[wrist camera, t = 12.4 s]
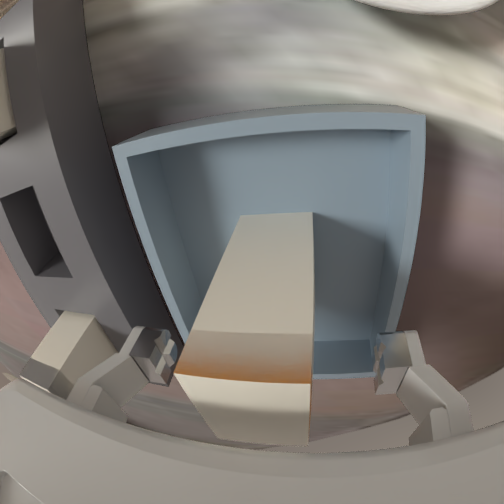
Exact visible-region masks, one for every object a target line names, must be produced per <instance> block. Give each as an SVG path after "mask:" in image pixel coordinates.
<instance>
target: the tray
mask: <svg viewBox="0 0 504 504" xmlns="http://www.w3.org/2000/svg"><path fill="white" fill-rule="evenodd" d="M425 143H426V115H424V114H421V113H418V112H415V111H412V110H410V109H407V108H404V107H401V106H397V105H380V104H325V105H304V106H290V107H278V108H268V109H259V110H250V111H243V112H236V113H229V114H222V115H216V116H210V117H205V118H199V119H194V120H189V121H184V122H180V123H175V124H170V125H166V126H162V127H158V128H154V129H150V130H148V131H145V132H143V133H141V134H138V135H136V136H134V137H132V138H129V139H127V140H125V141H123V142H121V143H119V144H116V145H114V146H112V150H113V153H114V157H115V160H116V164H117V167H118V171H119V174H120V178H121V181H122V184H123V188H124V191H125V194H126V197H127V200H128V203H129V206H130V209H131V212H132V215H133V218H134V221H135V224H136V227H137V230H138V233H139V235H140V238H141V241H142V244H143V246H144V249H145V252H146V254H147V257H148V259H149V262H150V265H151V267H152V270H153V272H154V275H155V277H156V280H157V282H158V285H159V287H160V289H161V292H162V294H163V297H164V299H165V301H166V304H167V306H168V308H169V310H170V313H171V315H172V317H173V319H174V322H175V324H176V326H177V328H178V330H179V332H180V335H181V337H182V339H183V341H184V343H186V341H187V338H188V336H189V334H190V331H191V329H192V326H193V324H194V322H195V319H196V317H197V315H198V312H199V310H200V307H201V305H202V303H203V300H204V298H205V296H206V293H207V291H208V289H209V286H210V284H211V282H212V279H213V277H214V275H215V272H216V270H217V268H218V266H219V263H220V261H221V259H222V256H223V254H224V252H225V250H226V247H227V245H228V243H229V240H230V238H231V236H232V234H233V231H234V229H235V227H236V225H237V223H238V220H239V218H240V216H241V215H257V214H276V213H297V212H312V214H313V235H314V264H315V334H314V364H313V379H344V378H365V377H375V375H376V373H375V372H374V371H373V368H372V354H373V348H374V346H376V336H377V334H378V333H383V332H395V331H396V328H397V325H398V321H399V317H400V314H401V310H402V306H403V302H404V298H405V294H406V290H407V285H408V281H409V276H410V272H411V267H412V262H413V256H414V251H415V245H416V239H417V233H418V226H419V219H420V211H421V202H422V192H423V181H424V167H425Z"/></svg>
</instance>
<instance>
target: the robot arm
mask: <svg viewBox="0 0 504 504" xmlns="http://www.w3.org/2000/svg"><path fill="white" fill-rule="evenodd" d="M170 337H171V334H170V332H169V330H166V329H158V328H151V327H143V326H135V327H134V328H133V329H132V331H131V333H130V335H129V336H128V338H127V340H126V342H125V343H124V345H123V347H122V349H121V350H120V352H119V353H115V354H114V355H113V356H111V357H110V358H108V359H107V360H105V361H104V362H102V363H101V364H99V365H98V366H96V367H95V368H93V369H92V370H90V371H89V372H87V373H86V374H84V375H83V376H81V377H80V378H78V380H77V382H76V383H75V385H74V387H73V389H72V391H71V392H70V394H69V396H68V398H67V400H65V399H63V398H60V397H58V396H56V395H54V394H52V393H50V392H48V391H46V390H44V389H42V388H40V387H38V386H36V385H34V384H32V383H30V382H28V381H27V380H25V379H22V378H17V379H15V380H13V381H12V382H10V383H9V384H7V385H6V386H4V387H3V388H2V389H0V504H504V421H502V422H499V423H497V424H494V425H491V426H488V427H485V428H482V429H478V430H475V431H474V429H473V424H472V419H471V414H470V409H469V405H468V401H467V400H466V399H465V398H464V397H463V396H462V395H461V394H460V393H459V392H458V391H457V390H456V389H455V388H454V387H453V386H452V385H451V384H450V383H449V382H448V381H447V380H446V379H445V378H444V377H442V376H441V375H440V374H439V373H438V372H437V371H436V370H435V369H434V368H433V367H432V366H431V365H430V364H428V365H426V362H425V358H424V354H423V350H422V346H421V343H420V339H419V336H418V332H417V331H416V330H409V331H395V332H383V333H378V334H377V336H376V346H374V348H373V354H372V368H373V371H374V372H375V373H376V375H375V378H374V387H375V395H378V394H393V393H396V395H397V396H398V398H399V399H400V400H401V402H402V403H403V404H404V406H405V407H406V408H407V410H408V411H409V412H410V414H411V415H412V416H413V418H414V419H415V420H416V421H417V423H418V424H419V426H418V428H417V429H416V430H415V431H414V432H413V434H412V435H411V436H410V437H409V446H403V447H397V448H389V449H380V450H370V451H358V452H341V453H340V452H338V453H294V452H275V451H262V450H252V449H243V448H235V447H228V446H221V445H215V444H209V443H203V442H198V441H193V440H188V439H184V438H179V437H175V436H170V435H166V434H162V433H159V432H155V431H151V430H147V429H144V428H141V427H137V426H134V425H131V424H128V423H126V421H127V419H128V415H127V413H126V412H125V411H124V410H123V409H122V408H121V407H123V406H124V405H125V404H126V403H127V402H128V401H129V400H130V399H131V398H133V397H134V396H135V395H136V394H137V393H138V392H139V391H140V390H141V389H142V388H144V387H145V386H146V385H147V384H148V383H149V381H151V382H157V383H163V384H166V383H167V381H168V378H169V376H170V373H171V369H170V366H172V365H173V364H174V363H175V361H176V359H177V346H176V344H175V342H174V341H172V340H171V339H170Z"/></svg>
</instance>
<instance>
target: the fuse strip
mask: <svg viewBox="0 0 504 504" xmlns="http://www.w3.org/2000/svg"><path fill="white" fill-rule="evenodd" d="M1 48H4V53H5V64H6V73H7V81H8V88H9V94H10V100H11V105H12V111H13V115H14V120H15V125H16V129H17V133H15V134H13V135H11V136H9V137H6V138H4V139H2V140H0V241H1V243H2V245H3V247H4V250H5V252H6V254H7V256H8V258H9V260H10V261H11V263H12V265H13V267H14V269H15V271H16V273H17V275H18V276H19V278H20V280H21V282H22V283H23V285H24V287H25V289H26V290H27V292H28V294H29V295H30V297H31V299H32V300H33V302H34V303H35V305H36V306H37V308H38V310H39V311H40V313H41V314H42V316H43V317H44V319H45V320H46V322H47V323H48V324H49V326H50V327H51V328H52V326H53V325H54V324H55V322H56V321H57V320H58V318H59V317H60V316H61V315H62V313H63V312H64V311H70V312H76V313H83V314H90V315H95V317H96V319H97V320H98V322H99V324H100V325H101V327H102V328H103V330H104V331H105V333H106V335H107V336H108V338H109V339H110V341H111V342H112V344H113V345H114V347H115V348H116V350H117V351H118V352H120V350H121V349H122V347H123V345H124V343H125V342H126V340H127V338H128V336H129V335H130V333H131V331H132V329H133V328H134V327H135V326H143V327H151V328H158V329H166V330H169V332H170V334H171V337H170V339H171V340H172V341H174V342H175V344H176V346H177V359H176V361H175V363H174V364H173V365H172V366H170V369H171V373H170V376H169V378H168V381H167V383H166V384H163V383H157V382H151V381H149V383H152V384H157V385H162V386H167V387H169V384H170V382H171V379H172V377H173V374H174V370H175V368H176V365H177V363H178V360H179V358H180V355H181V353H182V351H183V348H184V346H183V344H182V342H181V340H180V338H179V336H178V334H177V332H176V330H175V328H174V325H173V323H172V321H171V319H170V317H169V314H168V312H167V310H166V308H165V306H164V303H163V301H162V299H161V296H160V294H159V292H158V289H157V287H156V285H155V282H154V280H153V277H152V275H151V272H150V270H149V267H148V265H147V262H146V260H145V257H144V255H143V252H142V249H141V247H140V244H139V241H138V239H137V236H136V233H135V230H134V228H133V225H132V222H131V219H130V216H129V213H128V210H127V207H126V204H125V201H124V198H123V195H122V192H121V189H120V186H119V182H118V179H117V176H116V173H115V169H114V166H113V162H112V159H111V155H110V151H109V148H108V144H107V140H106V136H105V132H104V128H103V124H102V120H101V116H100V111H99V107H98V102H97V98H96V93H95V88H94V83H93V77H92V72H91V66H90V60H89V54H88V47H87V40H86V32H85V24H84V14H83V2H82V0H19V1H18V2H17V3H16V4H15V5H14V6H13V7H12V8H11V9H10V10H9V11H8V12H7V13H6V14H5V15H4V16H3V17H2V18H1V19H0V49H1Z"/></svg>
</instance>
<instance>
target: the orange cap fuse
mask: <svg viewBox="0 0 504 504" xmlns="http://www.w3.org/2000/svg"><path fill="white" fill-rule="evenodd" d="M314 334H315V264H314V235H313V214H312V212H297V213H276V214H257V215H241V216H240V218H239V220H238V223H237V225H236V227H235V229H234V231H233V234H232V236H231V238H230V240H229V243H228V245H227V247H226V250H225V252H224V254H223V256H222V259H221V261H220V263H219V266H218V268H217V270H216V272H215V275H214V277H213V279H212V282H211V284H210V286H209V289H208V291H207V293H206V296H205V298H204V300H203V303H202V305H201V307H200V310H199V312H198V315H197V317H196V319H195V322H194V324H193V326H192V329H191V331H190V334H189V336H188V338H187V341H186V343H185V346H184V348H183V351H182V353H181V355H180V358H179V360H178V363H177V365H176V368H175V370H174V375H175V376H176V378H177V380H178V381H179V383H180V384H181V386H182V388H183V389H184V391H185V392H186V394H187V395H188V397H189V398H190V400H191V401H192V403H193V404H194V406H195V407H196V409H197V410H198V412H199V413H200V414H201V416H202V417H203V419H204V420H205V422H206V423H207V424H208V426H209V427H210V428H211V430H212V431H213V433H214V434H215V435H216V437H217V438H218V439H224V440H231V441H239V442H247V443H257V444H269V445H284V446H308V439H309V428H310V415H311V401H312V384H313V364H314Z"/></svg>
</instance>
